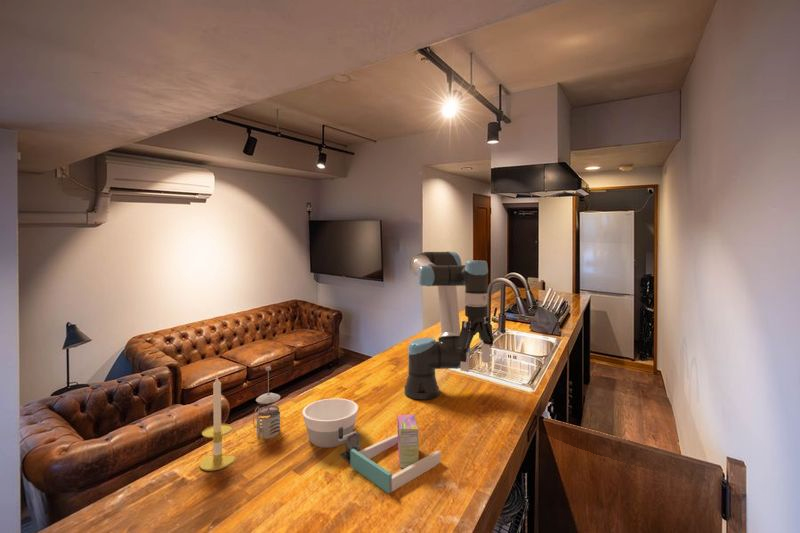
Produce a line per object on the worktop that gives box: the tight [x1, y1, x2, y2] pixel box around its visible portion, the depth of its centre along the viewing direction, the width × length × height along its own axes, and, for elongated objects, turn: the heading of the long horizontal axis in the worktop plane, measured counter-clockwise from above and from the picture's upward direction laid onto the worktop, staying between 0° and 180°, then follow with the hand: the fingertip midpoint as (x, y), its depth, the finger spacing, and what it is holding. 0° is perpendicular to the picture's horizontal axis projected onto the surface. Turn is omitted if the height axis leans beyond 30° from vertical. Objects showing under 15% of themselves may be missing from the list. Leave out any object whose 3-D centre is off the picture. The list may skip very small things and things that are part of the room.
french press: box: [252, 365, 281, 440], centre depth 126 cm, size 10×12×25 cm
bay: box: [349, 433, 441, 495], centre depth 109 cm, size 17×21×5 cm
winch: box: [338, 427, 361, 464], centre depth 113 cm, size 6×8×11 cm
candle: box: [199, 376, 236, 472], centre depth 111 cm, size 10×10×27 cm
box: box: [396, 414, 420, 469], centre depth 113 cm, size 10×6×12 cm, turn 5°
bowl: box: [301, 397, 360, 448], centre depth 125 cm, size 19×19×11 cm
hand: (475, 366), depth 124 cm, fingers open, 13 cm apart
